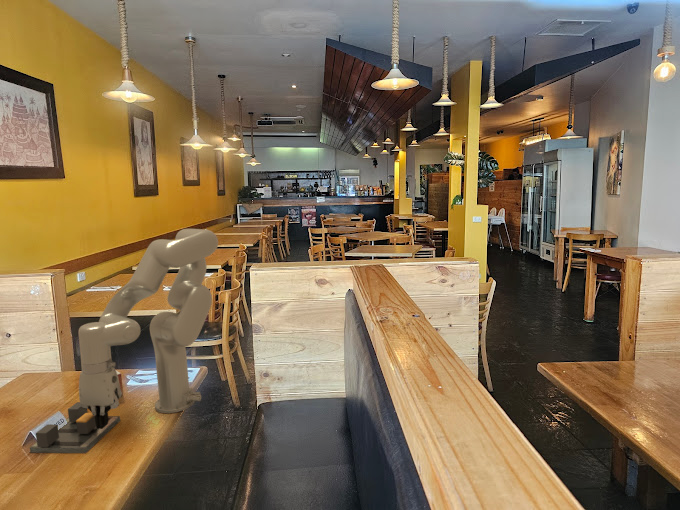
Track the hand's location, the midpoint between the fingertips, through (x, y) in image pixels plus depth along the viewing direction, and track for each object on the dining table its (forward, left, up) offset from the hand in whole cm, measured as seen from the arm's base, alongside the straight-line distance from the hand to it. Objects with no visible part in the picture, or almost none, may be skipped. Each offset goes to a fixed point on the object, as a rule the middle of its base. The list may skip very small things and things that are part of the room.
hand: (102, 426), depth 127 cm
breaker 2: (+12, -7, -1) cm, 14 cm away
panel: (+8, -1, -3) cm, 9 cm away
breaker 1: (+12, +6, -1) cm, 14 cm away
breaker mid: (+5, -1, -2) cm, 5 cm away
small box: (+10, -20, -4) cm, 22 cm away
